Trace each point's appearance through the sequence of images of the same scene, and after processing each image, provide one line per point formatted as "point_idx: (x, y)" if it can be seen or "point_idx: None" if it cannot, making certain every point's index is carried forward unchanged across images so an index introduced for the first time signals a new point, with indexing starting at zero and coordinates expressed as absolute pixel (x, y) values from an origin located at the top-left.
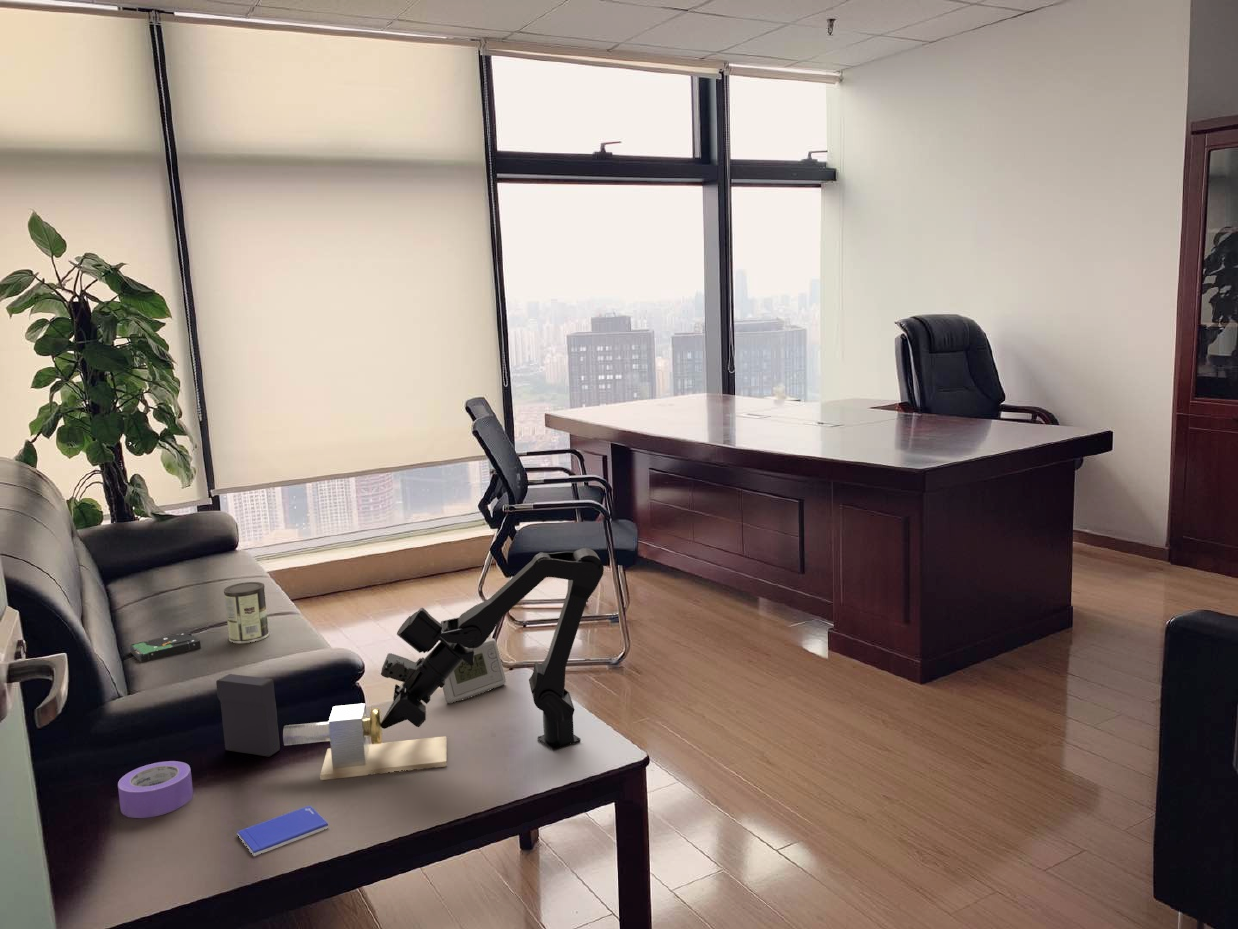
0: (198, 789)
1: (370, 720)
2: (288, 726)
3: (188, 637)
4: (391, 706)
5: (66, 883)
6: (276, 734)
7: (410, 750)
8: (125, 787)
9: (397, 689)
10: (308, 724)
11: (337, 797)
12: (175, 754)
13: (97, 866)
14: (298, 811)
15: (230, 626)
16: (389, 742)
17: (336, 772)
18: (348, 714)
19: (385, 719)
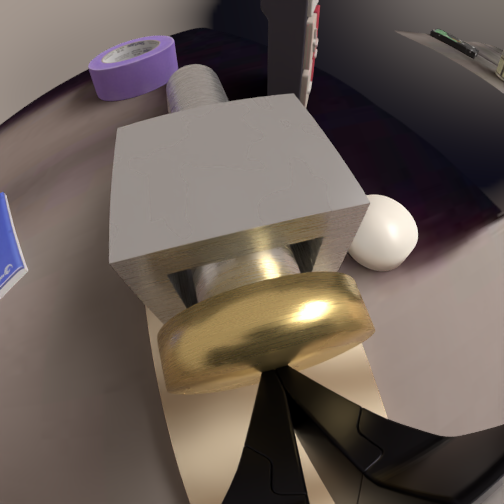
0: (156, 92)
1: (169, 321)
2: (188, 69)
3: (472, 49)
4: (335, 445)
5: (14, 114)
6: (292, 90)
7: (310, 471)
8: (109, 49)
9: (492, 491)
10: (195, 93)
11: (56, 314)
12: (266, 51)
13: (26, 115)
14: (7, 254)
15: (500, 61)
16: (368, 369)
17: None
18: (184, 167)
19: (255, 410)
